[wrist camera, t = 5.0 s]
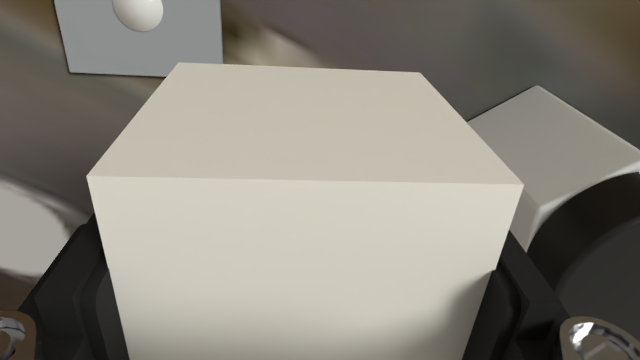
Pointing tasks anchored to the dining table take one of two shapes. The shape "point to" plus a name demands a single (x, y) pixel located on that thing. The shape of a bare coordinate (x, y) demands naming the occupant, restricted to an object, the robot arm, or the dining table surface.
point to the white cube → (299, 217)
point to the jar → (573, 203)
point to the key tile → (139, 35)
